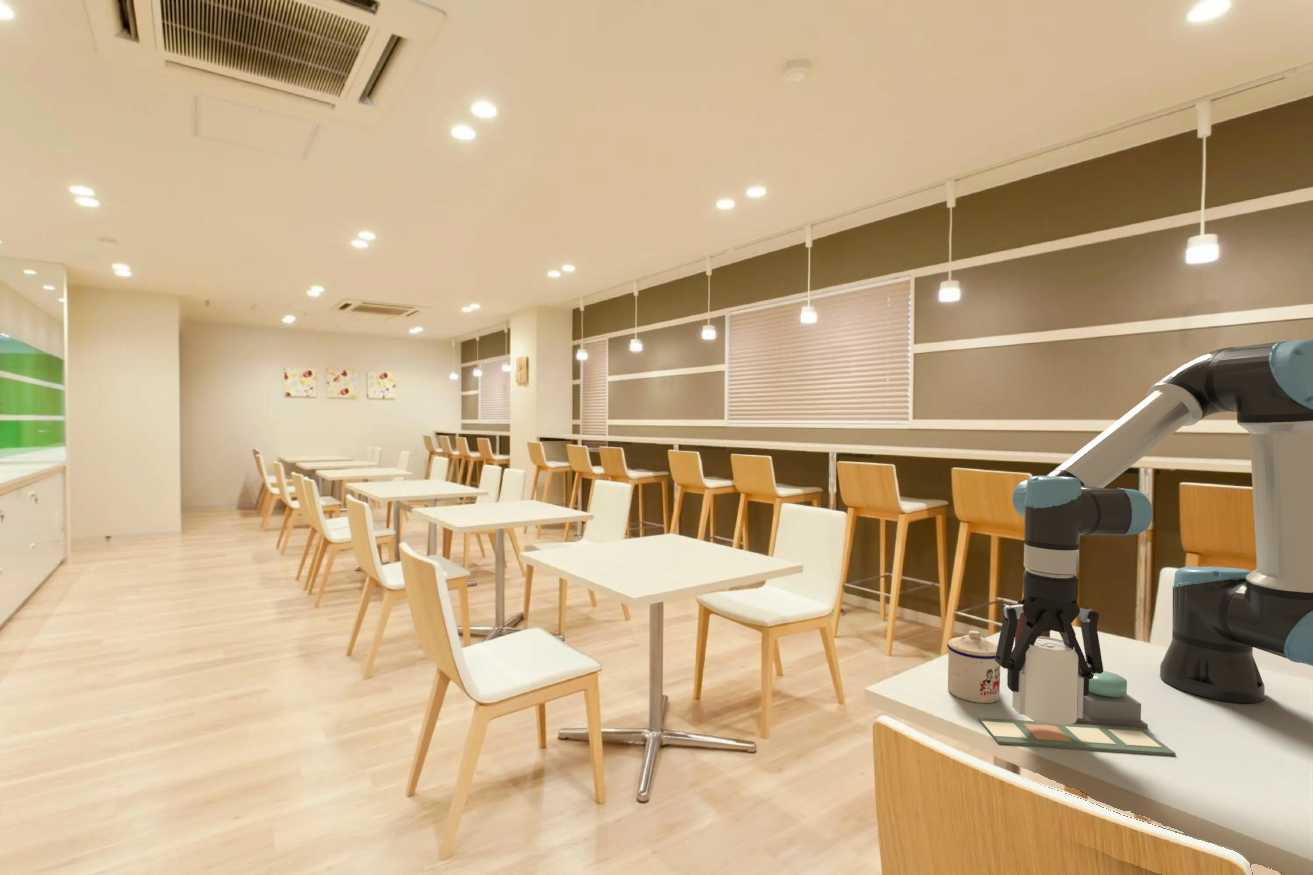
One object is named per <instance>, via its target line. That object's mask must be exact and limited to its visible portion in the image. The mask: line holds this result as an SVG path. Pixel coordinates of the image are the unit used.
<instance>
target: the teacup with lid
mask: <svg viewBox="0 0 1313 875" xmlns="http://www.w3.org/2000/svg"><path fill="white" fill-rule="evenodd" d="M946 647H947V648H948V651H947V652H948V657H947V660H948V661H947V663H948V664H947V689H948V691H949V692H950V694H951V695H953V696H954V697H956V698H959V699H961V700H963V701H967V702H970V703H977V704H992V703H995V702H997V701H999V700H1000V691H1001V690H1000V689H1001V688H1000V686H1001V685H1000V684H1001V666H1000V665H999V664H998V663H997V662H996V661H995V656H996V652H997V647H998V644H996V643H994V642H991V641H988V640H987V639H986V638H984V637H982V636H981V633H980V632H979V630H978V631H977V630H969V631H968V633H967V634H965V635H962V636H959V637H953V638H951V639H949V640H948V642H947V646H946Z"/></svg>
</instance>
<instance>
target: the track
mask: <svg viewBox="0 0 1313 875" xmlns="http://www.w3.org/2000/svg"><path fill="white" fill-rule="evenodd" d="M977 720H978V721H979V723H980V724H981V725H982V727H984V729H985V730H986V731H987V732H988V733H989V735H990V736H991V737H992V738H993V739H994V741H995V742H996V743H997V744H999V745H1014V746H1030V747H1041V748H1044V747H1045V748H1059V749H1070V750H1071V749H1072V750H1088V751H1102V752H1117V753H1131V754H1132V753H1133V754H1147V755H1158V756H1159V755H1161V756H1172V757H1173V756H1175V757H1176V755H1177V754H1176V752H1175V751H1173V750H1172V749H1171V748H1170V747H1168V746H1166V745H1165V744H1164V743H1163V742H1162V741H1160V740H1159V739H1157V738H1156V737H1155V736H1154V735H1152V734H1151V733H1149V732H1148V731H1146V730H1145V728H1139V727H1123V726H1107V725H1092V724H1076V723H1074V724H1071V725H1065V726H1051V725H1046V724H1042V723H1039V722H1036V721H1034V720H1023V719H1010V718H1009V719H1007V718H1005V719H1004V718H992V717H991V718H990V717H978V719H977Z"/></svg>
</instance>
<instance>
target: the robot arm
mask: <svg viewBox="0 0 1313 875" xmlns="http://www.w3.org/2000/svg"><path fill="white" fill-rule="evenodd" d="M1225 412H1232V413H1233V412H1236V422H1237V425H1239V426H1240V427H1241V428H1243V429H1244V430H1245V431H1247V432H1248V433H1249V443H1250V444H1249V446H1250V462H1251V464H1250V466H1251V467H1250V468H1251V482H1252V500H1253V502H1252V503H1253V517H1254V518H1253V519H1254V537H1255V538H1254V541H1255V558H1256V568H1255V569H1254V570H1250V569H1246V568H1239V567H1238V568H1237V567H1236V568H1235V567H1222V566H1184V567H1180V568H1178V569H1177V570H1176V571H1175V572H1174V576H1173V577H1174V578H1173V585H1172V589H1171V590H1172V637H1171V641H1170V644H1169V646H1168V648H1167V650H1166V652H1165V655H1164V657H1163V659H1162V661H1161V663H1160V666H1159V678H1160V679H1161V680H1162V681H1163V682H1165V683H1166V684H1167V685H1170V686H1171V687H1173V688H1175V689H1178V690H1181V691H1183V692H1187V693H1189V694H1191V695H1196V696H1200V697H1204V698H1208V699H1213V700H1217V701H1222V702H1231V703H1240V704H1253V703H1255V704H1256V703H1261V702H1263V700H1265V695H1266V694H1265V692H1266V691H1265V684H1264V681H1263V679H1262V675H1261V673H1260V671H1259V667H1258V666H1257V665H1258V664H1257V663H1256V660H1255V658H1254V653H1253V651H1254V650H1253V648H1255V649H1257V650H1261V651H1263V652H1266V653H1269V654H1272V655H1276V656H1278V657H1281V658H1284V659H1286V660H1287V659H1288V660H1289V661H1291V662H1293V663H1298V664H1305V665H1308V666H1312V667H1313V339H1295V340H1294V339H1287V340H1282V341H1277V342H1276V341H1275V342H1268V343H1267V342H1266V343H1258V344H1251V345H1250V344H1249V345H1242V346H1233V347H1231V346H1230V347H1222V348H1218V349H1215V350H1212V351H1209V352H1206V353H1204V354H1201V355H1199V356H1197V357H1195V358H1193V359H1191V360H1189V361H1188V362H1185V363H1184V364H1182V365H1181V366H1179V367H1177V368H1176V369H1174V370H1173V371H1171V372H1170V373H1168V374H1167V375H1164V377H1162V378H1161V379H1160V380H1158V381H1157V382H1155V384H1153V385H1151V387H1150V388H1148V390H1147V391H1146V398H1144V399H1143V400H1142V401H1141V402H1139V403H1138V404H1137V405H1136V406H1134V407H1133V408H1132V409H1131V410H1129V411H1128V412H1126V413H1125V414H1124V415H1123V416H1122V417H1120V418H1119V419H1118V420H1116V421H1115V422H1114V423H1112V424H1111V425H1110V426H1109V427H1107V428H1106V429H1105V430H1103V431H1102V432H1101V433H1099V435H1096V436H1095V438H1093V439H1091V441H1089V442H1088V443H1087V444H1085V445H1084V446H1083V447H1081V448H1080V449H1079V450H1078V451H1076V452H1075V453H1074V454H1072V455H1071V456H1070V457H1069V458H1067V459H1066V460H1065V461H1063V462H1062V463H1061V464H1060V465H1058V466H1057V467H1056V468H1054V469H1053V470H1052V471H1050V472H1049V473H1048V474H1046V475H1034V476H1031V477H1029V478H1028V479H1026V480H1023V481H1021V482H1019V483H1018V484H1017V485H1016V486H1015V488H1014V490H1013V492H1012V496H1011V502H1012V505H1013V507H1014V509H1015V511H1016V512H1017V514H1019V515H1020V516H1022V517H1024V543H1023V545H1024V546H1023V567H1024V568H1025V569H1026V570H1025V571H1023V575H1022V579H1023V580H1022V582H1023V583H1022V594H1023V595H1022V596H1023V597H1022V599H1021V600H1022V601H1021V600H1020V601H1021V603H1020V605H1016V604H1013V605H1009V604H1007V603H1004V604H1002V605H1001V612H1002V617H1003V618H1002V623H1001V627H1000V633H999V637H998V642H997V646H998V647H997V652H996V656H995V661H996V662H997V663H998V664H999V665H1000V668H1001V667H1002V668H1003V669H1006V670H1007V680H1006V681H1007V682H1006V684H1007V688H1008V689H1009V690H1010V691H1011V692H1012V703H1011V704H1012V708H1013V710H1014V711H1016V712H1017V713H1018V714H1019V715H1024V716H1025V684H1026V674H1024V673H1022V672H1021V669H1022V667H1023V665H1024V663H1025V661H1026V652H1027V650H1028V649H1029V648H1030V646H1029V645H1032V646H1033V645H1034V643H1035V641H1036V639H1037V637H1039V636H1040V635H1041V633H1042V631H1050V632H1051V631H1053V632H1057V633H1059V635H1060V637H1061V640H1062V641H1063V642H1064V644H1066V645H1067V646H1069V647H1070V648H1072V649H1073V647H1075V652H1076V653H1077V655H1078V689H1077V718H1082V719H1083V696H1088V694H1089V679H1092V678H1093V677H1094V674H1095V673H1098V674H1101V673H1103V671H1104V664H1103V658H1102V652H1101V646H1100V640H1099V633H1098V627H1097V626H1098V623H1099V618H1100V614H1099V613H1098V612H1097V611H1095V610H1094V609H1091V608H1089V607H1080V606H1079V605H1078V598H1079V577H1077V576H1076V575H1077V574H1078V573H1079V572H1080V571H1079V570H1080V541H1081V536H1120V537H1125V536H1129V535H1138V534H1141V533H1144V532H1145V531H1146V530H1147V529H1148V528H1150V525H1151V524H1152V521H1153V519H1154V518H1153V515H1154V512H1153V511H1154V509H1153V505H1152V503H1151V501H1150V499H1149V498H1148V497H1147V496H1146V494H1144V493H1143V492H1141V491H1139V490H1136V489H1133V488H1124V487H1123V488H1121V487H1115V488H1108V487H1107V488H1105V487H1106V486H1107V485H1109V484H1110V483H1112V482H1113V481H1115V480H1116V479H1117V478H1118V477H1119V476H1120V475H1123V473H1125V471H1127V470H1128V469H1130V468H1131V467H1132V466H1134V465H1135V464H1136V463H1137V462H1139V461H1140V460H1141V459H1143V457H1145V456H1146V455H1148V454H1149V453H1150V452H1152V450H1154V449H1155V448H1156V447H1158V446H1159V445H1160V444H1161V443H1163V442H1164V441H1165V440H1166V439H1168V438H1169V437H1170V436H1172V435H1173V434H1174V433H1175V432H1177V431H1178V430H1179V429H1181V428H1182V427H1191V426H1193V425H1196V424H1198V423H1199V422H1200V421H1201V420H1202V419H1204V418H1205V417H1208V416H1210V415H1214V414H1218V413H1225ZM1022 612H1023V613H1024V615H1025V616H1026V617H1027V619H1026V621H1025V623H1024V625H1023V631H1022V633H1021V635H1020V637H1019V639H1018V641H1017V643H1016V645H1015V634H1016V630H1017V619H1020V614H1021V613H1022ZM1076 618H1078V620H1079V621H1080V629H1081V635H1082V636H1081V637H1082V641H1083V650H1084V653H1083V651H1082V648H1081V646H1080V644H1079V641H1078V639H1077V637H1076V636H1077V635H1076V631H1075V629H1074V626H1073V625H1072V623H1073V622H1074V621H1075V620H1076ZM1033 626H1034V627H1033ZM1084 654H1085V655H1084Z"/></svg>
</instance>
